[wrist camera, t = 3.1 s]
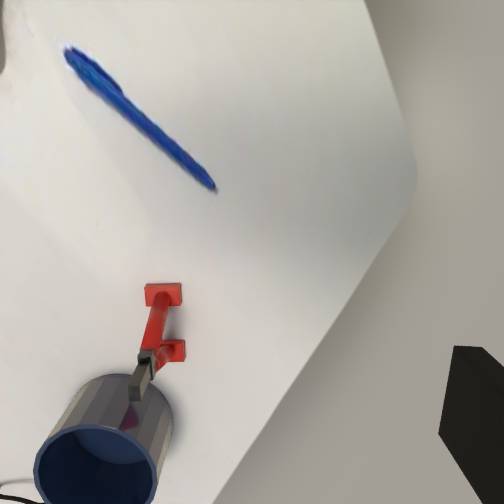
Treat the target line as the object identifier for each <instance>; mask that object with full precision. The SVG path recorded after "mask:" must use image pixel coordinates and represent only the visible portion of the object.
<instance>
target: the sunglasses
mask: <svg viewBox="0 0 504 504" xmlns="http://www.w3.org/2000/svg"><path fill="white" fill-rule="evenodd" d="M0 499H4V500H12V501H18V502H21V503H25V504H46V503H45V502H44V503H37V502H34V501H31V500H28V499H25V498H21V497H16V496H8V495H2V494H0Z"/></svg>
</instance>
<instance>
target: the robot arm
mask: <svg viewBox="0 0 504 504" xmlns="http://www.w3.org/2000/svg"><path fill="white" fill-rule="evenodd" d="M438 434H439V436H440V437H441V439H442V440H443V442H444V443H445V445H446V447H447V448H448V450H449V451H450V453H451V454H452V456H453V458H454V459H455V461H456V462H457V464H458V466H459V467H460V469H461V470H462V472H463V474H464V475H465V477H466V478H467V480H468V481H469V483H470V485H471V486H472V488H473V489H474V491H475V492H476V494H477V496H478V497H479V499H480V500H481V502H482V503H483V504H504V367H503V366H502V365H501V364H500V363H499V362H498V361H497V360H496V359H494V358H493V357H492V356H491V355H490V354H489V353H488V352H487V351H486V350H484V349H483V348H482V347H472V346H454V348H453V354H452V359H451V365H450V371H449V377H448V382H447V387H446V393H445V399H444V404H443V410H442V416H441V421H440V427H439V432H438Z"/></svg>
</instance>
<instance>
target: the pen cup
mask: <svg viewBox="0 0 504 504" xmlns="http://www.w3.org/2000/svg"><path fill="white" fill-rule="evenodd" d="M131 377H132V376H130V375H124V374H112V375H106V376H102V377H99V378H96V379H94V380H92V381H90V382H89V383H87V384H86V385H85V386H83V387H82V388H81V389H80V390H79V392H78V393H77V394H76V396H75V397H74V399H73V400H72V402H71V403H70V405H69V406H68V408H67V409H66V411H65V412H64V414H63V415H62V417H61V418H60V420H59V421H58V423H57V424H56V426H55V427H54V429H53V430H52V432H51V433H50V435H49V436H48V438H47V439H46V441H45V442H44V444H43V445H42V447H41V448H40V450H39V451H38V453H37V454H36V458H35V463H34V468H33V474H34V480H35V486H36V488H37V490H38V492H39V494H40V495H41V497H42V499H43V501H44V502H45V503H46V504H150V503H151V502H152V501H153V499H154V496H155V492H156V489H157V485H158V482H159V478H160V474H161V470H162V467H163V463H164V459H165V455H166V452H167V448H168V444H169V440H170V437H171V433H172V427H173V417H172V412H171V409H170V406H169V404H168V402H167V400H166V399H165V397H164V396H163V395H162V394H161V392H160V391H159V390H158V389H156V388H155V387H154V386H153V385H151V384H150V383H148V385H147V387H146V390H145V392H144V395H143V397H142V399H141V401H129V397H128V387H127V385H128V383H129V381H130V379H131Z"/></svg>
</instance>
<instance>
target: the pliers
mask: <svg viewBox="0 0 504 504" xmlns="http://www.w3.org/2000/svg"><path fill="white" fill-rule="evenodd" d="M144 289H145V300H146V306H152V307H151V311H150V314H149V318H148V322H147V325H146V329H145V333H144V336H143V340H142V344H141V347H140V352H139V354H138V365H137V367H136V369H135V371H134V373H133V375H132V377H131V379H130V381H129V383H128V385H127V387H128V397H129V401H141V399H142V397H143V395H144V392H145V390H146V387H147V385H148V382H149V381H152V380H153V379H154V377H155V374H156V372H157V371H158V370H160V369H161V368H162V367H163V366H164V365H165V364H166V363H167V362H184V360H185V346H184V340H163V341H161V340H162V335H163V331H164V326H165V322H166V317H167V313H168V308H169V306H180V305H181V302H182V301H181V287H180V284H147V285H146V286H145V287H144Z"/></svg>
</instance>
